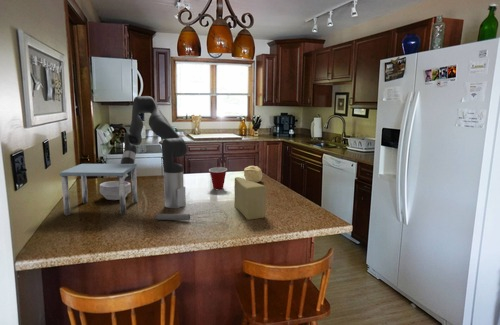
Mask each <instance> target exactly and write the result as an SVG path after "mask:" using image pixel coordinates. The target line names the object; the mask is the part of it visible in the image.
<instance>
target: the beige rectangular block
mask: <svg viewBox="0 0 500 325" xmlns="http://www.w3.org/2000/svg"><path fill="white" fill-rule="evenodd" d="M233 188H234V191H233V193H234V202H233V204H234V207H235V208H236V209H237V210H238V211H239V212H240V213H241V214H242V215H243V216H244V217H245V219H246V220H247V221H250V220H257V219H263V218H266V212H267V211H266V210H267V209H266V207H267V202H266V200H267V186H266V185H263V184H261V183H259V182H257V183H255V182H252V181H248V180H246V179H245V178H242V177H240V176H239V177H238V176H237V177H236V176H235V177H234V187H233Z"/></svg>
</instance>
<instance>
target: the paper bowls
mask: <svg viewBox="0 0 500 325" xmlns="http://www.w3.org/2000/svg"><path fill="white" fill-rule="evenodd" d="M124 182H125V198H127V195H128V194H130V193H132V184H131V182H129V181H124ZM99 194H100V195H101V196H102V195H103V197H104V198H105V199H106V200H108V201H109V200H110V201H118V200H119V201H120V196H119V180H113V181H111V180H109V181H104V182H101V183H100V184H99Z"/></svg>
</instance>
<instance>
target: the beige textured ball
mask: <svg viewBox="0 0 500 325" xmlns="http://www.w3.org/2000/svg"><path fill="white" fill-rule="evenodd" d="M243 176H244V179H245V180H248V181H252V182H255V183H259V182H261V180H262V179H263V172H262V169H261V168H260V167H259V166H257V165H256V166H255V165H249V166H247V167H245V168H243Z"/></svg>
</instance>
